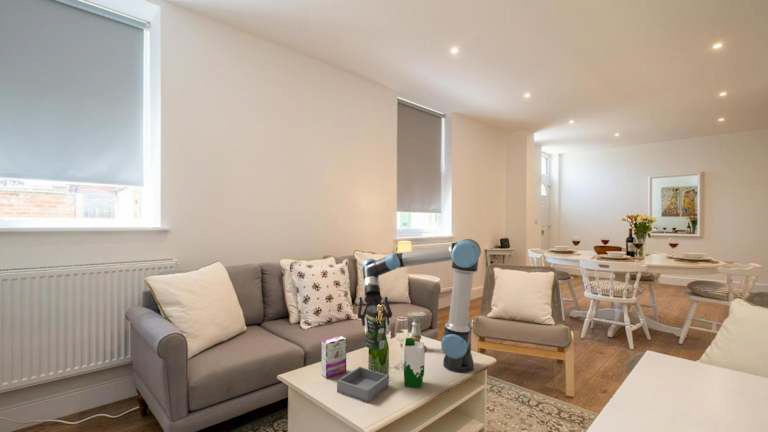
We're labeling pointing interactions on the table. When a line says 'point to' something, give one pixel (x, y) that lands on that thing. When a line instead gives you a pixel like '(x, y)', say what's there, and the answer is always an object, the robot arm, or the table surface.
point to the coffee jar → (375, 329)
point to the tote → (363, 384)
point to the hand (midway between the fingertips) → (376, 331)
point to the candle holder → (416, 325)
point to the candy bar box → (333, 356)
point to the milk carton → (413, 363)
